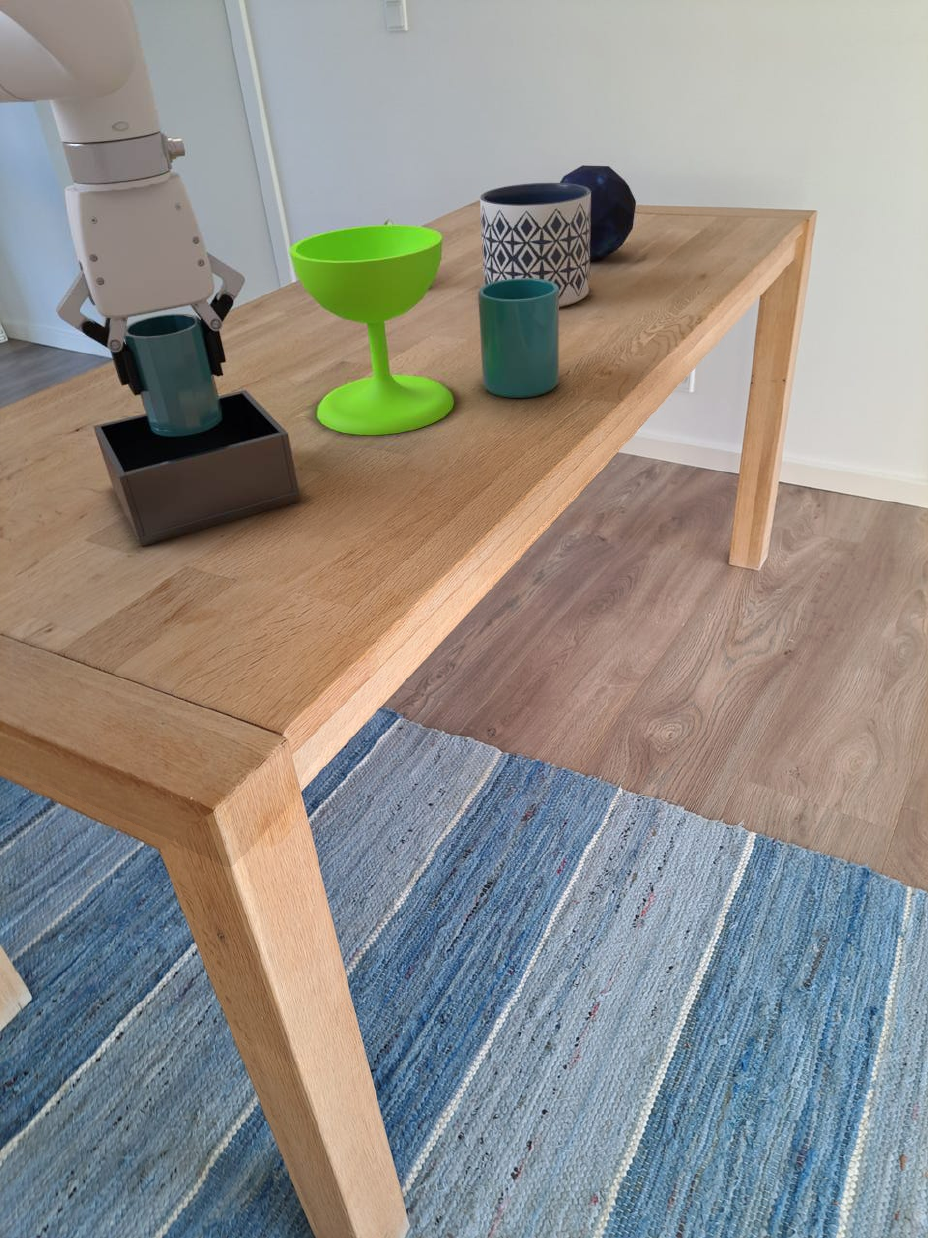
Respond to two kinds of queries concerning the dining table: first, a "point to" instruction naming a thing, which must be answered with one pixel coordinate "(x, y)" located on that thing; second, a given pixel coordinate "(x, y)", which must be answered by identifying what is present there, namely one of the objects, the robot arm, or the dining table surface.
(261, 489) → the grey open box
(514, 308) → the cup
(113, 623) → the dining table surface
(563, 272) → the planter
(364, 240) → the wineglass
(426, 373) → the dining table surface
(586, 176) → the decorative orb
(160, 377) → the tumbler
